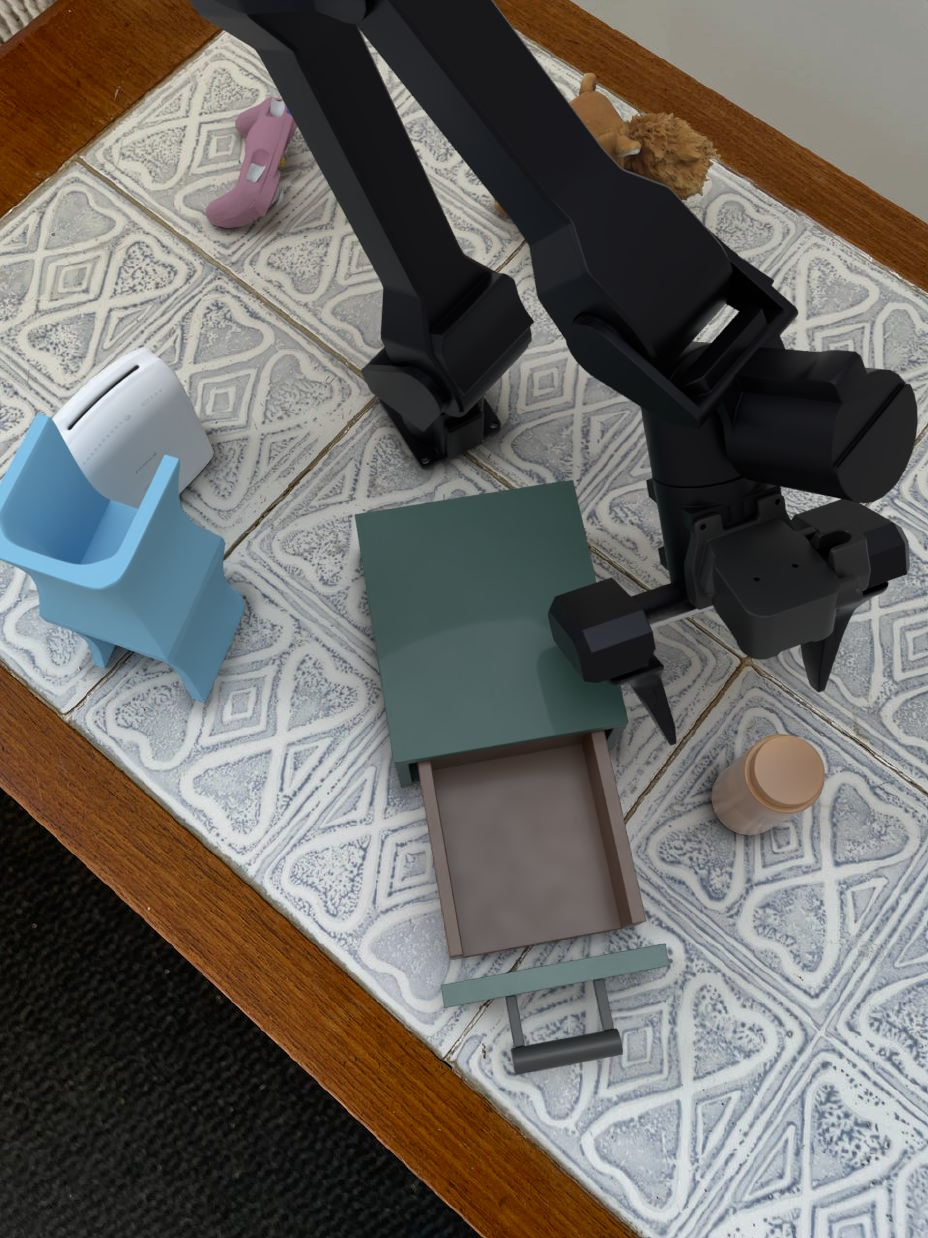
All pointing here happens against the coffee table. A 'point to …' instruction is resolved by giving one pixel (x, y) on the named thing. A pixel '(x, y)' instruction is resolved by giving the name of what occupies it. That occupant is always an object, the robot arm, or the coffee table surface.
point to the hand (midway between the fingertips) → (744, 715)
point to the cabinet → (479, 623)
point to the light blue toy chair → (118, 562)
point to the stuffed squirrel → (646, 142)
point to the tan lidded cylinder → (768, 784)
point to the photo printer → (133, 427)
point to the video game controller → (256, 165)
